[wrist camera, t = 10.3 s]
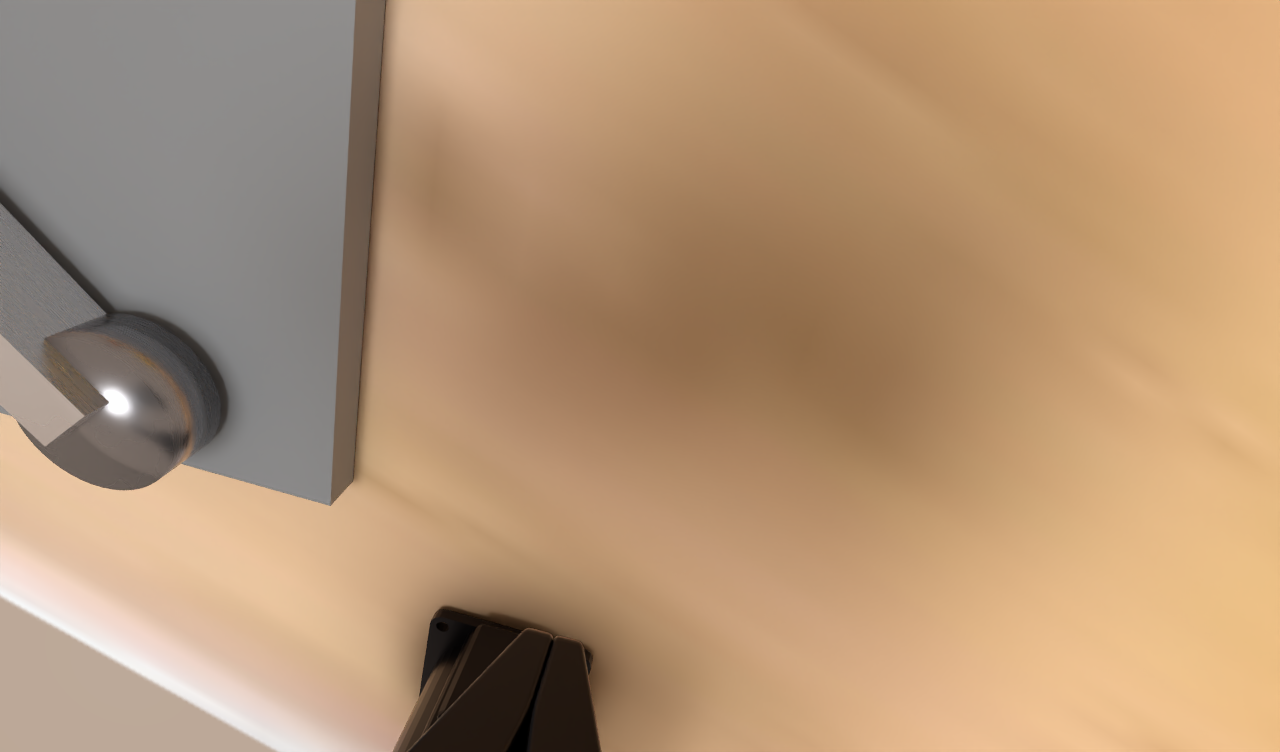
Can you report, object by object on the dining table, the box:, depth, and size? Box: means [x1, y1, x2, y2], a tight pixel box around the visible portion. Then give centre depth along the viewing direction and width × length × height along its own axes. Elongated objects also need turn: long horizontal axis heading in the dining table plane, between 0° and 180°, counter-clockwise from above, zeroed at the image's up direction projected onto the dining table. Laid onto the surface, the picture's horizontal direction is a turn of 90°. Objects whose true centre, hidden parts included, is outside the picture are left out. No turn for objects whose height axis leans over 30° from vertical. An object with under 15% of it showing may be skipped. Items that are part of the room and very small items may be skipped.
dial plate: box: [0, 0, 385, 506], centre depth 19 cm, size 20×20×2 cm
